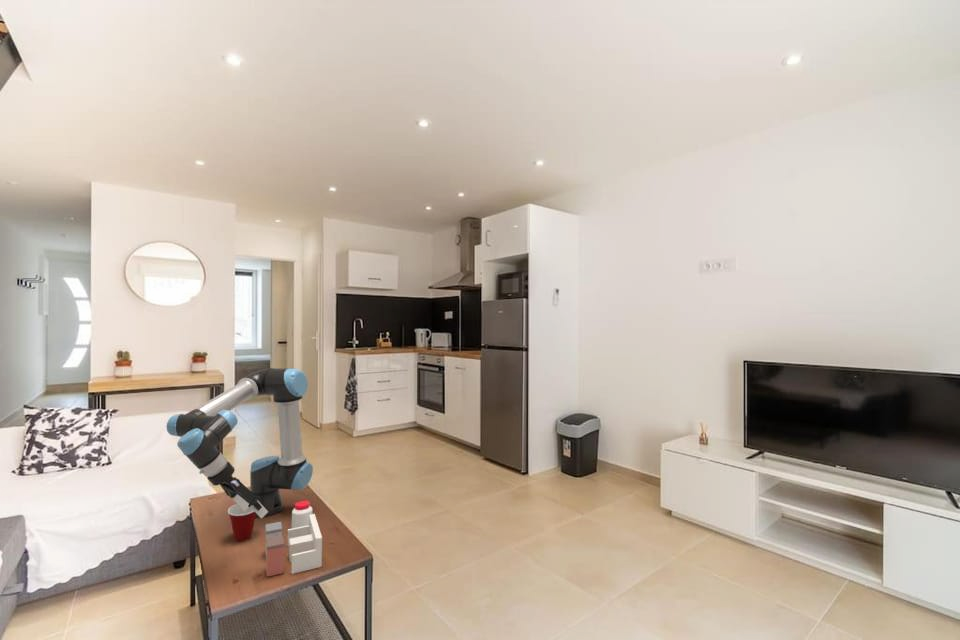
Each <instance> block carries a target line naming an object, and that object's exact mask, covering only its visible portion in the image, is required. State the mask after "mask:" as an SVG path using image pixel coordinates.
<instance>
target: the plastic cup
mask: <svg viewBox="0 0 960 640" xmlns="http://www.w3.org/2000/svg"><path fill="white" fill-rule="evenodd" d="M227 513H228V515H229V518H230V521H231V522H230V523H231V529H232V532H233V538H234V540H235V541H236V542H244V541H247V540H249V539H251V538H252V535H253V531H254V528H255V527H254V526H255V521H256V517H255V516H256V512H255V511H254V510H253V509H252V508H251V507H248V508H247V509H246V510H245V511H243V510H242V509H241V508H240V507H239V506H238V504H237V503H235V504H233V505H231V506H230V507H229V508H228V509H227Z"/></svg>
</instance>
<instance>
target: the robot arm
mask: <svg viewBox="0 0 960 640" xmlns="http://www.w3.org/2000/svg"><path fill="white" fill-rule="evenodd" d="M308 384H309V383H308V379H307V375H306V374H305V372H304V371H302V370H301V369H296V368H292V367H291V368H275V367H274V368H273V367H271V368H270V367H267V368H262V369H259V370H257V371H254V372H252V373H250V374H248V375H246V376H244V377H243V378H240V379H239V380H238V382H237V384H235V385H234V386H232V387H230V388H229V389H227V390H225V391H224V392H222V393H220V394H218V395H216V396H214V397H213V398H211V399H209V400H208V401H206V402H204V403H203V404H201V405H199V406H197V407H196V408H194V409H192V410H191V411H189V412H187V413H184V414H183V413H179V414H174V415H172V416H170V417H169V419H168V420H167V423H166V430H167V434H169V436H170V435H171V436H174V437H180V438H179V439H178V441H177V447H178V448H179V450H180V451H181V452H182V453H183V455H184V456H185V457H186V458H188V460H189V461H190V462H191V463H192V464H193V465H194V466H195V467H196V468H197V469H198V470H199V472H198V474H200V475H201V474H203V476H204V477H206V478H207V480H208V482H210V483H211V484H212V486H220V487H221V489H222V490H223V491H224V493H225V494H226V496H227V497H229V498H231V499H232V500H233V501H234V502H235V504H238V506H239V507H240V508H241V509H242V510H243V511H245V510H246V509H247V508H248V507H251V508H252V509H253V510H254V511H255V512H256V516H255V518H260V519H263V518H264V517H269V516H273V515H276V514H277V513H279V512H281V511H282V510H283V509H284V500H283V497H282V495H281V492H280V490H290V491H301V490H303V489H305V488H306V487H307V486H308V485H309V483H310V482H311V479H312V476H313V473H314V472H313V471H314V467H313V464H312V463H311V462H308V461H307V456H306V455H305V454H304V453H303V446H302V445H303V441H302V428H301V427H302V426H301V425H302V424H301V413H300V411H301V410H300V402H301V401H302V399H303V396H304V395H305V394H306V393H307V391H308ZM260 396H272V398H273V399H272V400H273V403H275V404H276V405H277V415H278V426H279V427H278V429H279V444H280V456H281V457H280V456H279V455H270V456H264V457H261V458H259V459H256V460H254V461H252V463H251V464H250V474H249V475H250V477H249V478H250V480H249V481H250V485H249V486H250V489H249V488H248V487H247V486H245V484H243V482H242V481H241V480H240V478H237V477H236V476H233V474H234V473H235V470H236V469H235V467H234V466H233V465H232V464H231V462H229V461H228V459H227V458H226V457H225V455H223V453H222V452H221V451H220V450H219V449H218V447H217V446H218V445H219V444H220V443H221V442H222V441H223V440H224V439H225V438H226V437H227V436H228V435H229V434H230V433H231V432H232V431H233V429H234V428H235V427H236V426H237V425H238V418H237V415H236V414H235V413H234V412H233V411H232V410H233V409H235V408H236V407H238V406H240V405H242V404H243V403H244V402H246V401H248V400H253V399H255V398H257V397H260Z"/></svg>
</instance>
